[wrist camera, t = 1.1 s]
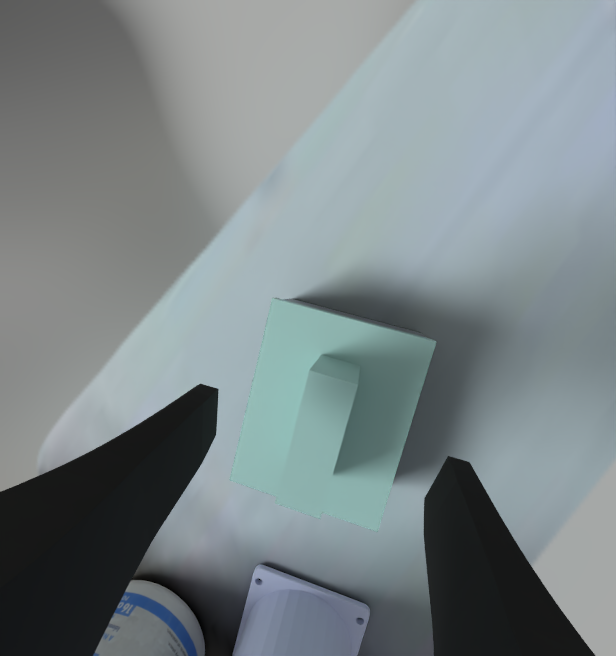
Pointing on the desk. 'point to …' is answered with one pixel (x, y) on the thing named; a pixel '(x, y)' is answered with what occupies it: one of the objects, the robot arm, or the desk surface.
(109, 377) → the desk surface
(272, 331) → the lid
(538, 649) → the robot arm
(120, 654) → the supplement tub
